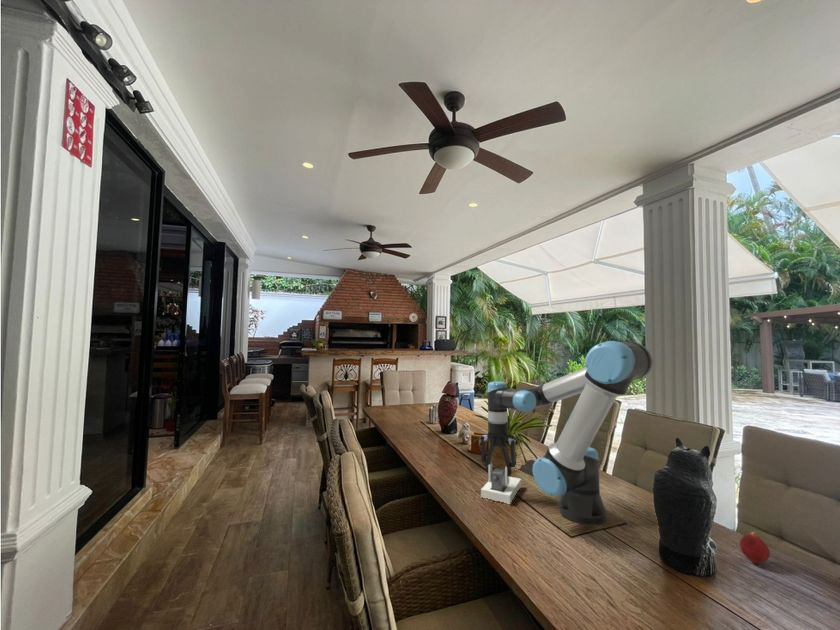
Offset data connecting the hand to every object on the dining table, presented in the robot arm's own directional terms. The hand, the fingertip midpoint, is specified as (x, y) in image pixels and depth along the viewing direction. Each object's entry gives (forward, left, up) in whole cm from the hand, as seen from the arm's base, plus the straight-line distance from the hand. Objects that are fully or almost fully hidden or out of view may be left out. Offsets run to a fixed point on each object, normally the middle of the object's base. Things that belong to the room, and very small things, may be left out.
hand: (498, 482), depth 134 cm
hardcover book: (-9, -33, -6) cm, 35 cm away
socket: (0, -4, -5) cm, 7 cm away
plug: (0, 0, -5) cm, 5 cm away
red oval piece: (-72, +6, -6) cm, 72 cm away
